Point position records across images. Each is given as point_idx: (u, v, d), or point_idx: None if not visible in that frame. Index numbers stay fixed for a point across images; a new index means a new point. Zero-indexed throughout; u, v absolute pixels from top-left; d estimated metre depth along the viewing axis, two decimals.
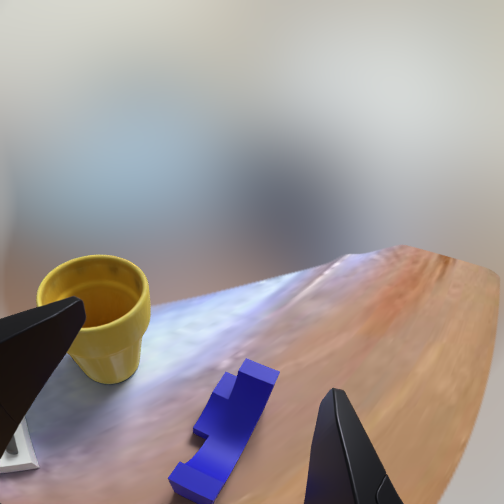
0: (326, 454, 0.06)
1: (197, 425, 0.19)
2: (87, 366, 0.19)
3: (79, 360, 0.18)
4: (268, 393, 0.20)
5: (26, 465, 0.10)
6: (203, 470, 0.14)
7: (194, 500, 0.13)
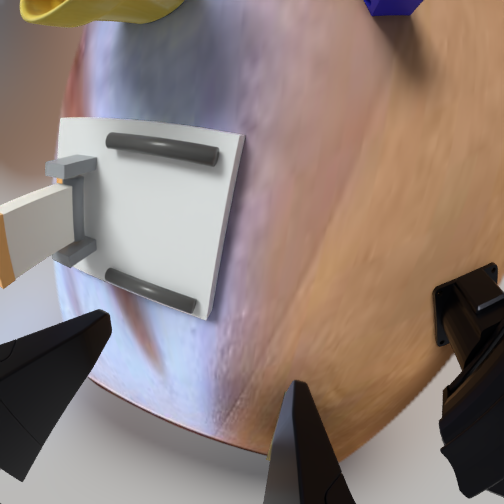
0: (282, 447, 0.06)
1: None
2: None
3: None
4: None
5: (238, 150, 0.16)
6: None
7: (398, 9, 0.10)
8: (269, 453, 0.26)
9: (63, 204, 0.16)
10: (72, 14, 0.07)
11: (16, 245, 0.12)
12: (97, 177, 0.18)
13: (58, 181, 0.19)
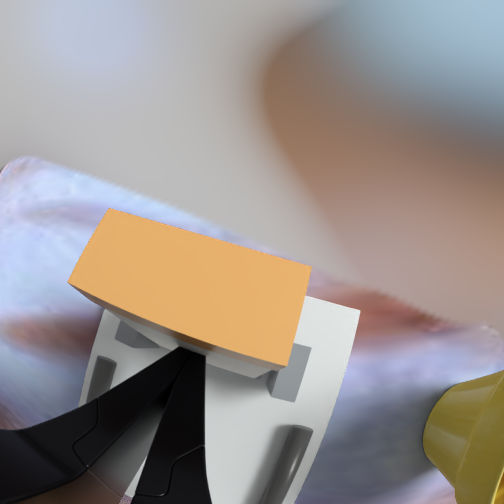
0: None
1: None
2: (447, 479, 0.08)
3: (450, 482, 0.08)
4: None
5: None
6: None
7: None
8: None
9: (229, 369, 0.10)
10: (481, 476, 0.05)
11: (178, 340, 0.06)
12: (253, 384, 0.13)
13: None
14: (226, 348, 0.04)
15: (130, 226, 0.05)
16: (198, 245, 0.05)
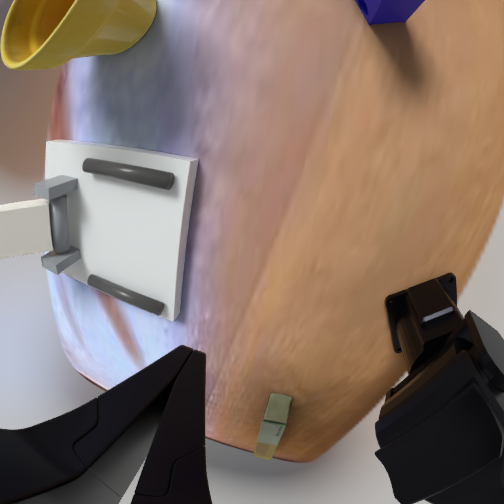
0: None
1: None
2: (118, 31, 0.12)
3: (107, 36, 0.11)
4: None
5: (191, 174, 0.18)
6: None
7: (394, 16, 0.11)
8: (255, 450, 0.28)
9: (39, 218, 0.18)
10: (41, 63, 0.09)
11: None
12: (78, 195, 0.20)
13: None
14: None
15: None
16: None
